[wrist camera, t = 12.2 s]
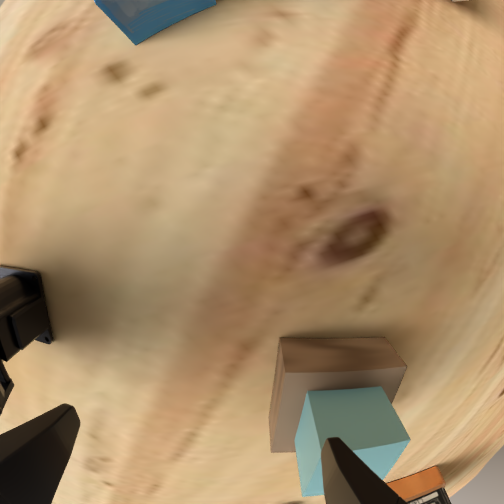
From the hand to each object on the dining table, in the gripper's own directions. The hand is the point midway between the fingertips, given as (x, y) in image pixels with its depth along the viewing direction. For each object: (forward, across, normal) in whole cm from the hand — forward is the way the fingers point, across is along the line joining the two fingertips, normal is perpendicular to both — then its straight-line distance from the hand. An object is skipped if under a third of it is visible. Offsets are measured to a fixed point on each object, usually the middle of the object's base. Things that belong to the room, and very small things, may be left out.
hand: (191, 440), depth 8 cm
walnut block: (+11, -8, +6) cm, 15 cm away
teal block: (+7, -8, +6) cm, 12 cm away
